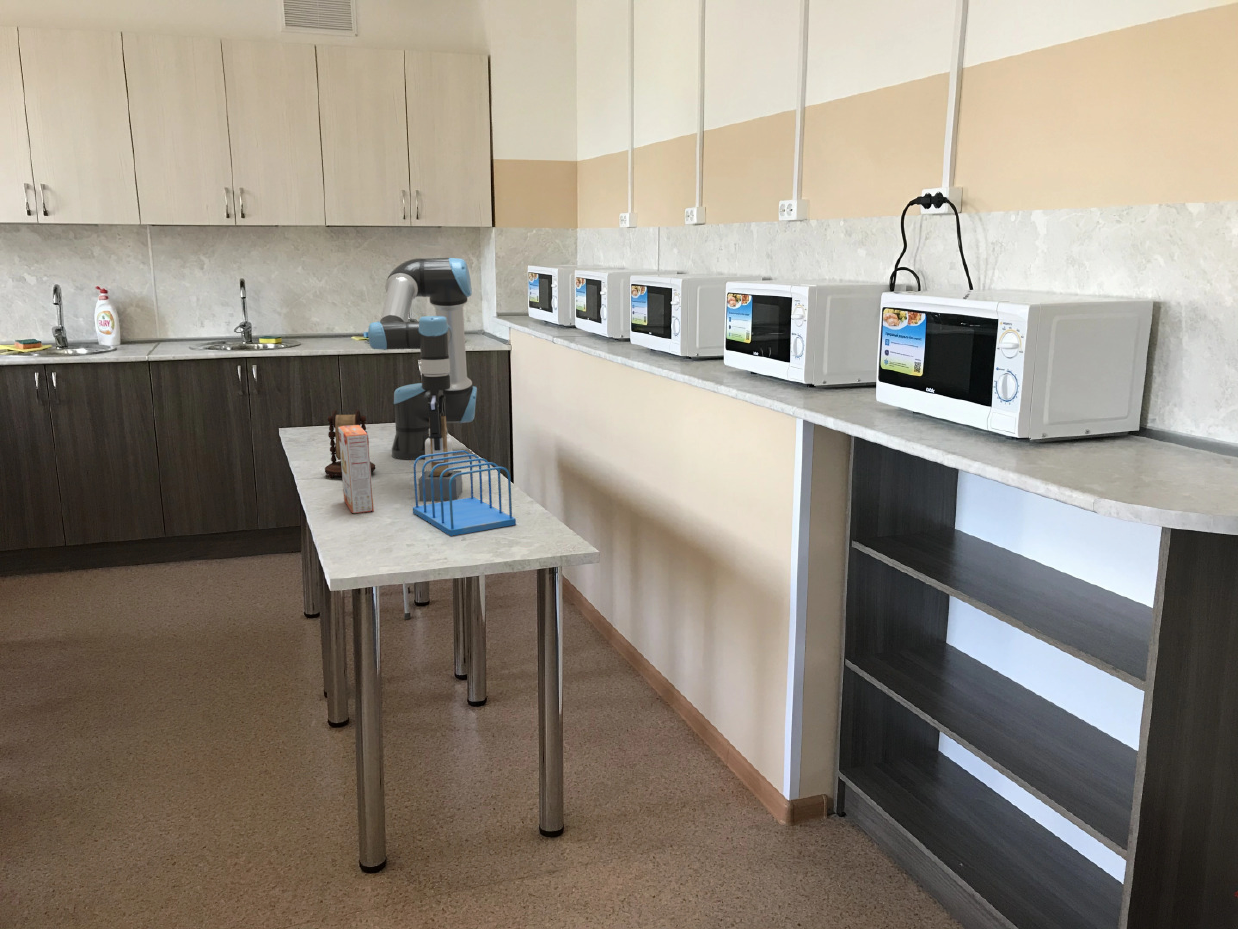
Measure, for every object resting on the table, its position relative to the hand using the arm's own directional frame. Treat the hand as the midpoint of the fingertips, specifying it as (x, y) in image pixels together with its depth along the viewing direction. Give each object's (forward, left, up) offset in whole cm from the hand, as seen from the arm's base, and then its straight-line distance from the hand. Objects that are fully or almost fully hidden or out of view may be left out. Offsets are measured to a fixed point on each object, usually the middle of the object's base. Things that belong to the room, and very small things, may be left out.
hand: (439, 460), depth 269 cm
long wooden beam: (0, 0, -4) cm, 4 cm away
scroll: (-27, -32, -10) cm, 43 cm away
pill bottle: (-21, -4, -10) cm, 24 cm away
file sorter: (+23, +9, -11) cm, 27 cm away
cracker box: (+11, -20, -10) cm, 25 cm away
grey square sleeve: (0, 0, -10) cm, 10 cm away
